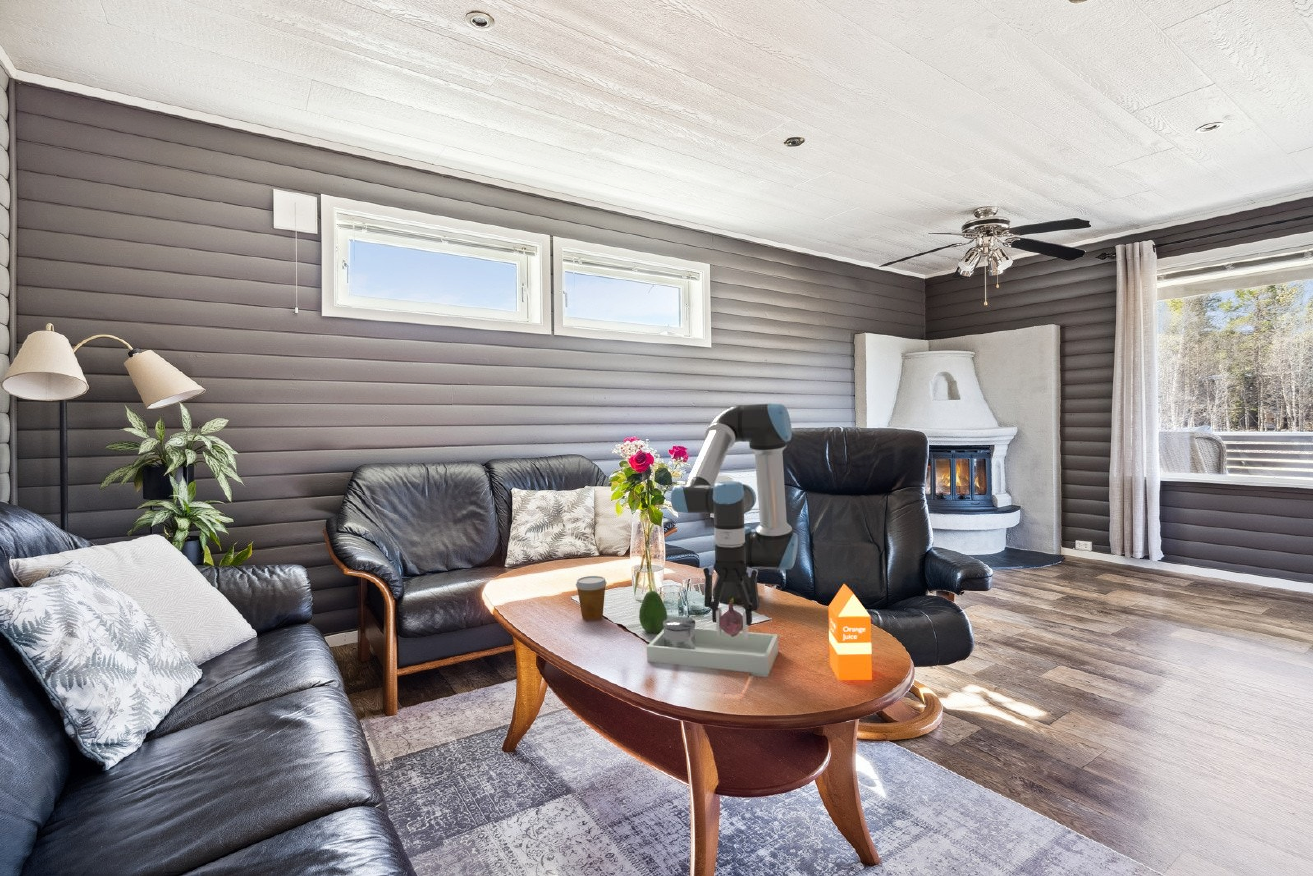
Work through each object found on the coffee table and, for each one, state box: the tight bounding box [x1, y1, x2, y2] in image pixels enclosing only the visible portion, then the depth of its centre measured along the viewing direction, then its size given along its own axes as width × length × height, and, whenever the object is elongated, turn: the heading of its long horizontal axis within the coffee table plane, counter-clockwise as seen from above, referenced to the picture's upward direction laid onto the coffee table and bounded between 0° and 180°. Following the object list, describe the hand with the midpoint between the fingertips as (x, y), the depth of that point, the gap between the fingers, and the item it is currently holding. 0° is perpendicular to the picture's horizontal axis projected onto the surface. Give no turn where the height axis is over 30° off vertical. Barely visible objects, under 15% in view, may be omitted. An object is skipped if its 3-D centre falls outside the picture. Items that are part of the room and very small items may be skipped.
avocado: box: [638, 590, 668, 634], centre depth 176 cm, size 8×8×12 cm
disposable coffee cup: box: [575, 575, 607, 622], centre depth 192 cm, size 10×10×12 cm
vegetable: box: [720, 598, 743, 637], centre depth 155 cm, size 6×6×10 cm
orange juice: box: [828, 583, 873, 681], centre depth 146 cm, size 8×9×20 cm
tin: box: [663, 616, 696, 649], centre depth 160 cm, size 8×8×8 cm
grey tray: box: [646, 627, 780, 678], centre depth 157 cm, size 16×30×4 cm, turn 70°
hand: (732, 636), depth 155 cm, fingers closed on vegetable, 6 cm apart
